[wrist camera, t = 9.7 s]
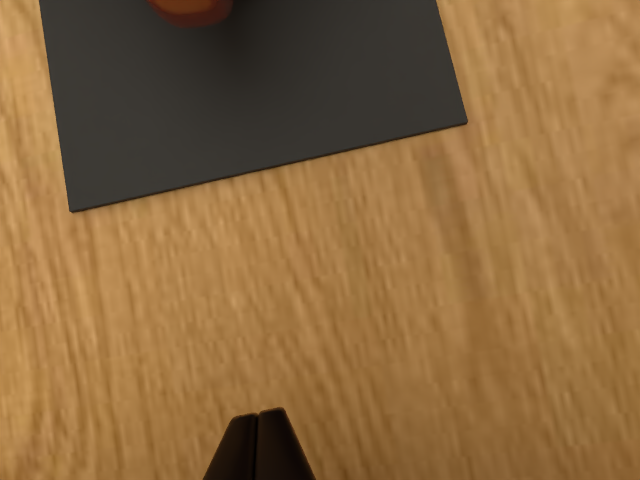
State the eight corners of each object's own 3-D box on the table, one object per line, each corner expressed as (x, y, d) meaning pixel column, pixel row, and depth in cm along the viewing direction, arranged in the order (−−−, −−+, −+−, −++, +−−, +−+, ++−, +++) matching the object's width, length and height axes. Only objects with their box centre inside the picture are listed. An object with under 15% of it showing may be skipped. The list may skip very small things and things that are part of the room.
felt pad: (466, 123, 17) (468, 121, 17) (72, 212, 18) (69, 211, 18) (394, -148, 19) (395, -153, 19) (32, -60, 19) (29, -64, 19)
